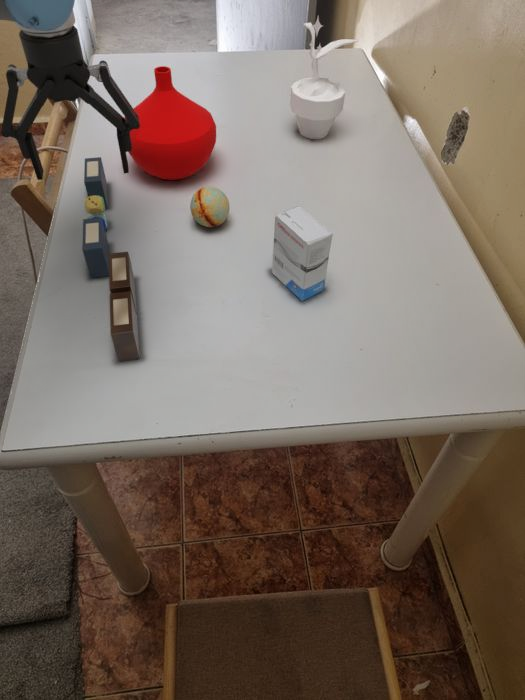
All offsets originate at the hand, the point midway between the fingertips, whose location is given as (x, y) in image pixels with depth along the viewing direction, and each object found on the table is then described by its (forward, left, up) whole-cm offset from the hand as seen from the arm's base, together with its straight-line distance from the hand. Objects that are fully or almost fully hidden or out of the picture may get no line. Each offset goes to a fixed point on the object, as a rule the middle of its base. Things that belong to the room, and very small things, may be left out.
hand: (83, 172), depth 85 cm
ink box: (+32, -20, -11) cm, 39 cm away
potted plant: (+48, +27, -11) cm, 57 cm away
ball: (+20, -2, -11) cm, 23 cm away
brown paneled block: (+4, -23, -11) cm, 26 cm away
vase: (+15, +18, -11) cm, 26 cm away
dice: (0, 0, -11) cm, 11 cm away
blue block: (0, 0, -11) cm, 11 cm away
